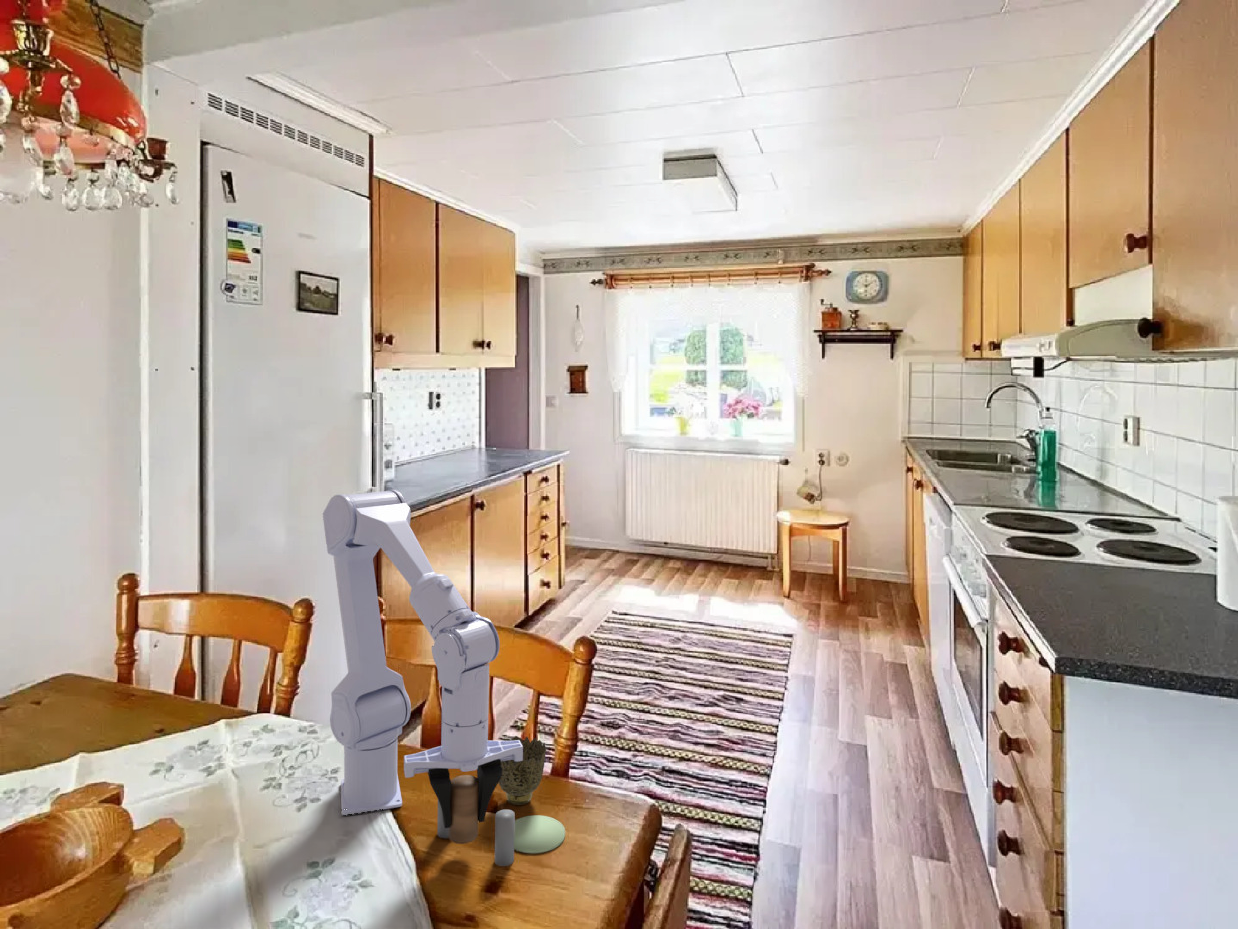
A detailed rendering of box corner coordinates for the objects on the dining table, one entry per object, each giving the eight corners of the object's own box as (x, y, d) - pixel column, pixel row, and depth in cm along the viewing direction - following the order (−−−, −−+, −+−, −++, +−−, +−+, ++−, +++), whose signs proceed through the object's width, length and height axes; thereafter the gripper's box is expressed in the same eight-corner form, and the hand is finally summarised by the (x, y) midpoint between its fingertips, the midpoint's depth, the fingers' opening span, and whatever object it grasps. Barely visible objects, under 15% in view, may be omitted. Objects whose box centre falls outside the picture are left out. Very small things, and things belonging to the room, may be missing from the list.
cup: (520, 781, 112) (521, 730, 112) (555, 799, 108) (557, 746, 107) (482, 801, 107) (483, 747, 106) (517, 821, 102) (518, 765, 101)
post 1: (436, 830, 99) (436, 786, 99) (454, 826, 100) (454, 783, 100) (438, 840, 97) (439, 795, 97) (457, 836, 98) (457, 792, 98)
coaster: (499, 824, 101) (499, 821, 101) (555, 814, 104) (555, 811, 104) (512, 858, 94) (512, 855, 94) (572, 846, 97) (572, 843, 97)
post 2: (492, 856, 94) (493, 811, 94) (511, 852, 95) (512, 808, 94) (496, 868, 92) (497, 821, 91) (515, 864, 93) (516, 818, 92)
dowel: (447, 829, 95) (447, 777, 94) (475, 825, 96) (476, 773, 96) (451, 846, 92) (452, 792, 91) (480, 840, 93) (481, 787, 92)
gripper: (407, 739, 87) (407, 849, 88) (529, 723, 92) (527, 828, 93) (402, 714, 93) (402, 817, 94) (516, 700, 98) (514, 799, 99)
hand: (463, 820), depth 94 cm, fingers closed on dowel, 4 cm apart
